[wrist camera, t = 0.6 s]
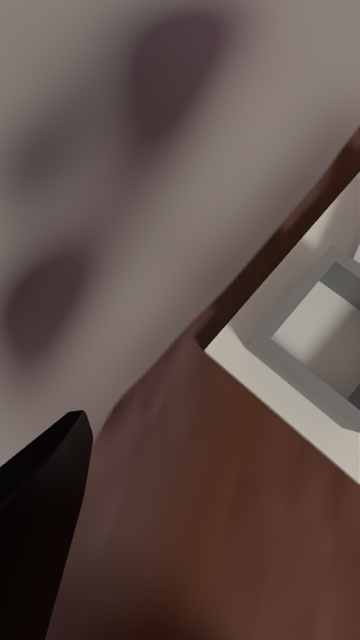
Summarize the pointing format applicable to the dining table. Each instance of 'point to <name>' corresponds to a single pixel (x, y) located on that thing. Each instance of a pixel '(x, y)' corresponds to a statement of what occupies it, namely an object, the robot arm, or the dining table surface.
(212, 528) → the dining table surface
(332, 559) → the dining table surface
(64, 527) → the robot arm
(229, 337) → the shaft mount
